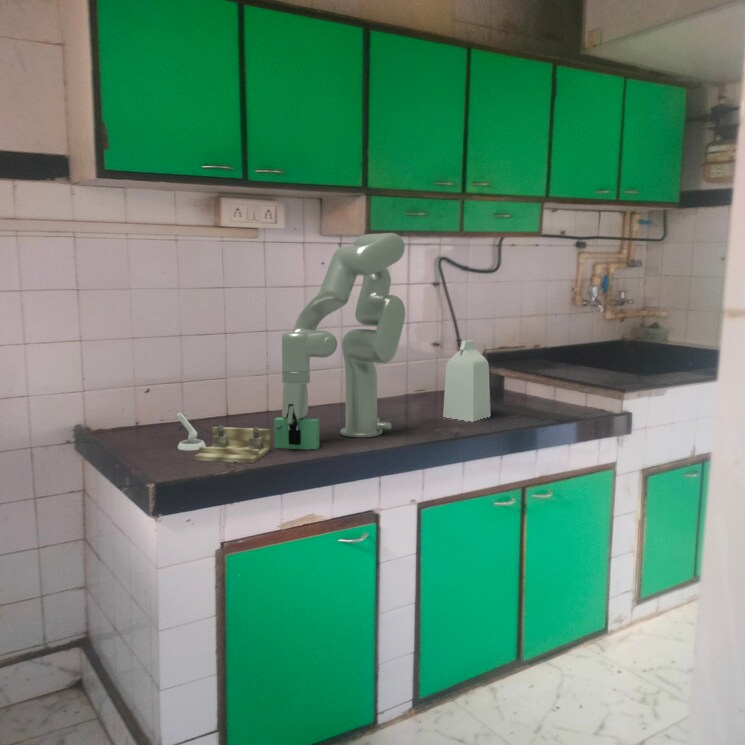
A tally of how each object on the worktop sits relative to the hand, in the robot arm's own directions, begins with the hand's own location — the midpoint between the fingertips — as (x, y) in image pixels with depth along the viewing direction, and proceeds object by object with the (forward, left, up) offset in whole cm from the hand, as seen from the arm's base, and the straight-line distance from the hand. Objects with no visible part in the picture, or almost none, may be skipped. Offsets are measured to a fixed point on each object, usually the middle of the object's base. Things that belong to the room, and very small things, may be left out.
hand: (296, 442), depth 201 cm
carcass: (+14, +12, -2) cm, 18 cm away
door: (0, 0, -2) cm, 2 cm away
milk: (-44, -53, -2) cm, 69 cm away
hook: (+29, +5, -2) cm, 29 cm away
